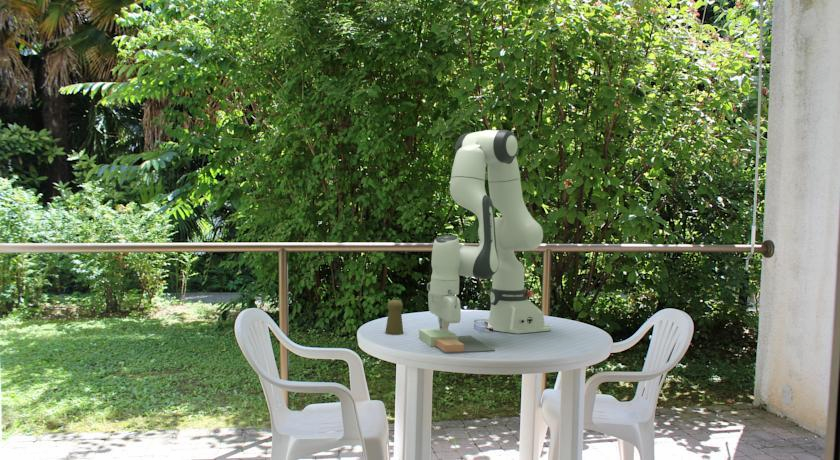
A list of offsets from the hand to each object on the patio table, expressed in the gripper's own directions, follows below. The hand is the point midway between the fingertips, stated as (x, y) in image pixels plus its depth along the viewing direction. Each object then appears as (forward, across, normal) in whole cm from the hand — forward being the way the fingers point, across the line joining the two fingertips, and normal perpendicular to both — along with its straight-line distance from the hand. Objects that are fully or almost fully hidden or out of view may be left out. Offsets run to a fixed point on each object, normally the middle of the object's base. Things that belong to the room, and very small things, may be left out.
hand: (443, 332), depth 223 cm
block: (+4, -6, 0) cm, 7 cm away
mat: (+4, 0, -5) cm, 6 cm away
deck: (+4, +5, 0) cm, 6 cm away
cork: (+4, +21, +10) cm, 24 cm away
